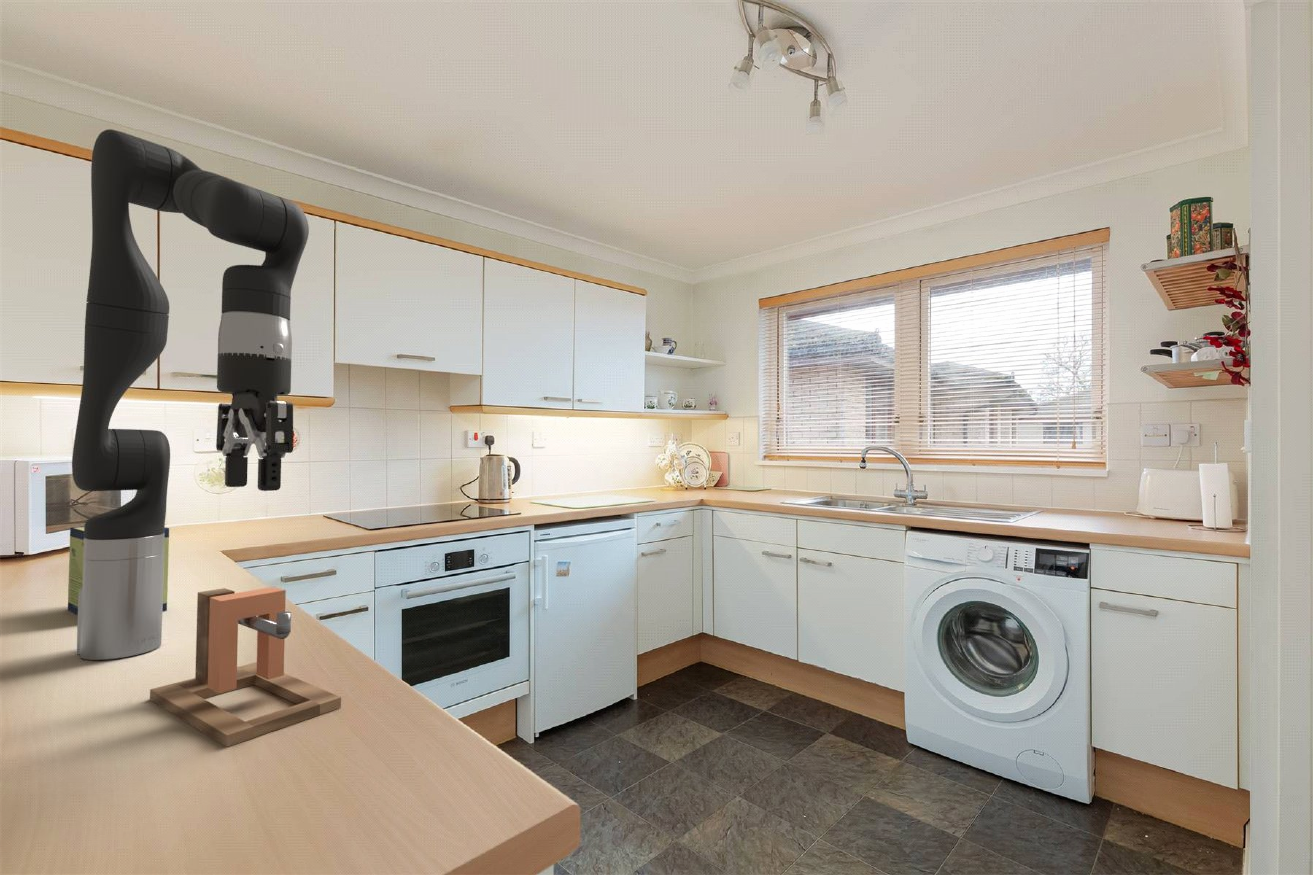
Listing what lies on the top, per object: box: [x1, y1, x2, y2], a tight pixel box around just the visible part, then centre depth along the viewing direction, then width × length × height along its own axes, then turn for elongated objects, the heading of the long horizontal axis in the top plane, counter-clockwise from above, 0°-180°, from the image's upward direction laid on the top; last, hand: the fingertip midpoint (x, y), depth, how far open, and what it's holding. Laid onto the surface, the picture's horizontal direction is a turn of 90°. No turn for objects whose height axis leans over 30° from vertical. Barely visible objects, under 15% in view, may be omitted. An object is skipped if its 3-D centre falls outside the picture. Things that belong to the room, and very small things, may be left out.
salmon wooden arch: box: [208, 586, 286, 694], centre depth 74 cm, size 7×3×10 cm, turn 146°
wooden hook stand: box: [149, 587, 342, 748], centre depth 75 cm, size 21×12×12 cm, turn 56°
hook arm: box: [238, 611, 292, 639], centre depth 74 cm, size 17×1×3 cm, turn 56°
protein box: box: [67, 525, 170, 615], centre depth 115 cm, size 10×16×16 cm
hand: (252, 488), depth 75 cm, fingers open, 8 cm apart
